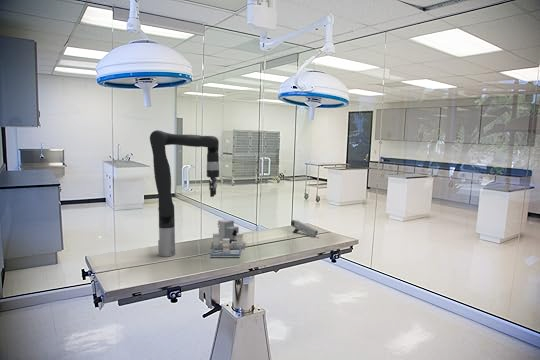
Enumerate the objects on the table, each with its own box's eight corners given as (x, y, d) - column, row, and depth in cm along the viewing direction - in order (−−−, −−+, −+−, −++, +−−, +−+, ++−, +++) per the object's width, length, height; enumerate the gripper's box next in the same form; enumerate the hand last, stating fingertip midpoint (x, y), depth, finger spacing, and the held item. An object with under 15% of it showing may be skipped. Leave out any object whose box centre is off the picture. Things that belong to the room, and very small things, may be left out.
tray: (210, 258, 208) (210, 254, 208) (213, 251, 222) (213, 247, 221) (239, 258, 209) (239, 254, 208) (240, 251, 222) (240, 247, 222)
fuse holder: (209, 251, 222) (209, 243, 221) (212, 247, 231) (211, 240, 230) (244, 251, 222) (244, 243, 222) (245, 247, 231) (245, 240, 231)
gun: (291, 230, 276) (293, 218, 274) (315, 243, 260) (318, 230, 257) (288, 230, 275) (291, 218, 272) (313, 243, 258) (316, 231, 255)
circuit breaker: (232, 245, 236) (232, 223, 234) (217, 242, 244) (217, 220, 243) (240, 243, 242) (240, 221, 240) (225, 240, 250) (225, 219, 249)
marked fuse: (222, 254, 213) (222, 240, 212) (223, 252, 217) (223, 238, 216) (228, 254, 213) (228, 240, 212) (229, 252, 217) (229, 238, 216)
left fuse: (213, 248, 224) (212, 234, 224) (213, 246, 228) (213, 232, 227) (218, 248, 224) (218, 234, 224) (219, 246, 228) (219, 232, 227)
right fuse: (236, 248, 225) (236, 234, 224) (237, 246, 228) (237, 232, 228) (242, 248, 225) (242, 234, 224) (242, 246, 228) (242, 232, 228)
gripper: (208, 168, 220) (208, 194, 222) (204, 169, 206) (205, 197, 208) (220, 168, 220) (220, 194, 222) (217, 170, 206) (217, 197, 208)
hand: (213, 195), depth 215 cm, fingers open, 8 cm apart
